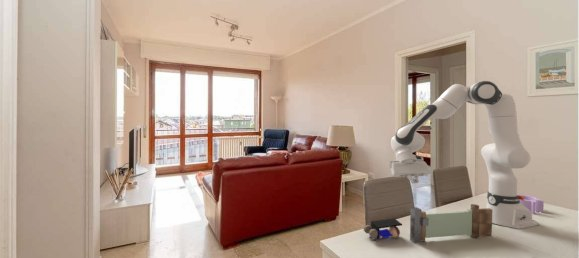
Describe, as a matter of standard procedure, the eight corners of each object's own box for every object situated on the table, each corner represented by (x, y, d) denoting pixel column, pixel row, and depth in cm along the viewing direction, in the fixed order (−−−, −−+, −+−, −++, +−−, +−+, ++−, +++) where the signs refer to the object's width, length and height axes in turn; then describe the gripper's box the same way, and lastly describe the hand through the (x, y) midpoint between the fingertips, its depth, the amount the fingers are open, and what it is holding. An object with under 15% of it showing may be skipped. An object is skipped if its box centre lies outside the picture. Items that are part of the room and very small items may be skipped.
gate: (468, 234, 116) (468, 207, 115) (472, 237, 113) (473, 209, 113) (417, 238, 112) (418, 211, 112) (421, 241, 110) (421, 213, 109)
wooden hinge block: (487, 234, 118) (487, 203, 117) (493, 237, 115) (494, 205, 114) (468, 235, 116) (469, 204, 116) (473, 238, 113) (474, 206, 113)
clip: (492, 203, 160) (493, 192, 159) (507, 201, 163) (507, 190, 163) (531, 215, 141) (531, 202, 140) (546, 212, 144) (547, 200, 144)
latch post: (421, 239, 113) (422, 207, 112) (428, 243, 109) (428, 210, 108) (410, 240, 112) (410, 207, 111) (415, 244, 108) (416, 211, 107)
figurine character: (372, 247, 109) (404, 239, 112) (370, 229, 109) (402, 222, 112) (364, 239, 116) (394, 232, 119) (362, 222, 115) (393, 216, 118)
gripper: (389, 158, 143) (398, 180, 134) (425, 156, 144) (436, 178, 135) (385, 164, 147) (394, 186, 138) (420, 163, 149) (431, 184, 140)
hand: (415, 182), depth 137 cm, fingers closed
